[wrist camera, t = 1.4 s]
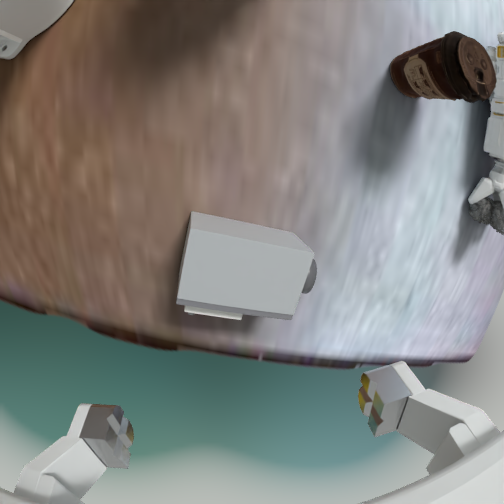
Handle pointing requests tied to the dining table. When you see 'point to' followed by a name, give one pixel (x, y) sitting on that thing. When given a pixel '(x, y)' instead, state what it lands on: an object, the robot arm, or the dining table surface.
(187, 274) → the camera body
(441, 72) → the coffee cup
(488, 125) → the spaceship
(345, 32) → the dining table surface
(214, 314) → the side door
